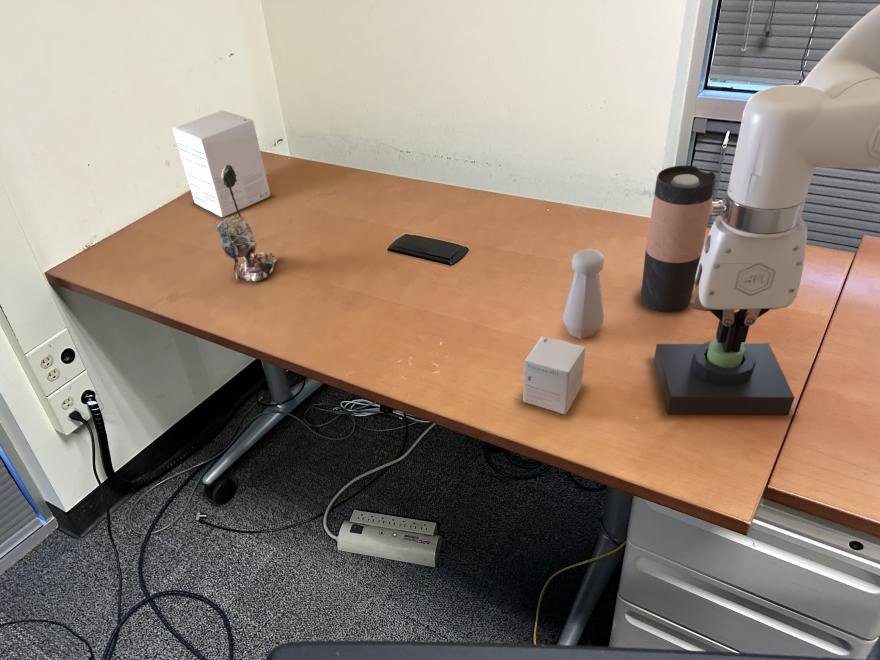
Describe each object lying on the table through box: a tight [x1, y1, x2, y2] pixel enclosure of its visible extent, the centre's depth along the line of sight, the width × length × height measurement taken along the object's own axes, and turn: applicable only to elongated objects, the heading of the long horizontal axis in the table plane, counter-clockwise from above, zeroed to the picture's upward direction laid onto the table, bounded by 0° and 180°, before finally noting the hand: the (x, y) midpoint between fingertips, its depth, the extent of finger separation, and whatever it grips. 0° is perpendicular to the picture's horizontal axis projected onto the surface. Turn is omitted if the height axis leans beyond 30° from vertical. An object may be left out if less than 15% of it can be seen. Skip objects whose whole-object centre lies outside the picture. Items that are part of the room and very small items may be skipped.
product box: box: [522, 335, 587, 415], centre depth 90 cm, size 6×6×7 cm
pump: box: [707, 338, 745, 368], centre depth 86 cm, size 4×4×2 cm
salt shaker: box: [562, 248, 605, 340], centre depth 99 cm, size 6×6×13 cm
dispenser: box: [653, 340, 796, 417], centre depth 88 cm, size 14×11×5 cm
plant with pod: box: [214, 165, 279, 282], centre depth 123 cm, size 8×11×20 cm
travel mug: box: [640, 165, 717, 313], centre depth 100 cm, size 8×8×20 cm
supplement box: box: [172, 110, 271, 218], centre depth 152 cm, size 13×13×18 cm
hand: (728, 345), depth 86 cm, fingers closed
